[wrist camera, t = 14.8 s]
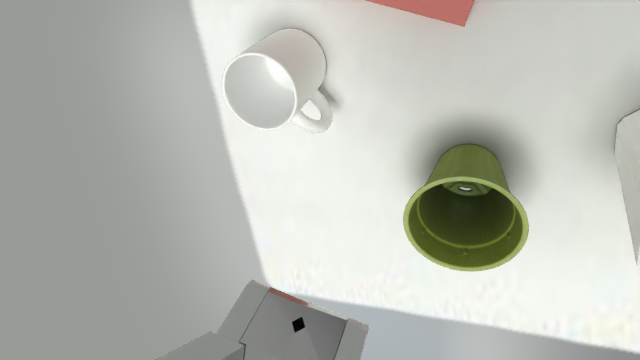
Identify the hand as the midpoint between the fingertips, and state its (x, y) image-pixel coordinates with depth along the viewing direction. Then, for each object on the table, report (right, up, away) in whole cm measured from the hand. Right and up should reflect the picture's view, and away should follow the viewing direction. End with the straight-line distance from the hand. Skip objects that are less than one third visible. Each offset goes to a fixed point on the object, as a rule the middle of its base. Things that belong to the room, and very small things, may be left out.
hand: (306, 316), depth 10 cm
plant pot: (+18, +5, +42) cm, 46 cm away
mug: (-1, +16, +42) cm, 45 cm away
